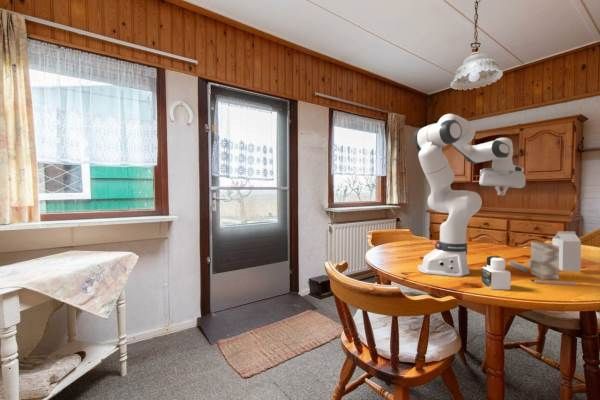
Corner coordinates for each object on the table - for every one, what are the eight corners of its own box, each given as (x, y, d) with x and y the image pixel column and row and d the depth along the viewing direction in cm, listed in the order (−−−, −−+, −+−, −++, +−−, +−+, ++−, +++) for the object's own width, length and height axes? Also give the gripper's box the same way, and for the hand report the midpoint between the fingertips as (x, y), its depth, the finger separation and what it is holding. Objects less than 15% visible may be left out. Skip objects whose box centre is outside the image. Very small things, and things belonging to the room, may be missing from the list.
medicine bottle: (481, 283, 114) (481, 254, 114) (500, 284, 113) (500, 255, 113) (490, 289, 107) (491, 259, 107) (510, 290, 106) (511, 259, 106)
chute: (536, 283, 114) (536, 276, 114) (503, 266, 140) (503, 260, 140) (576, 285, 111) (576, 278, 111) (535, 267, 137) (535, 261, 137)
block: (541, 278, 116) (542, 245, 116) (530, 273, 124) (531, 242, 124) (558, 279, 115) (559, 246, 115) (546, 273, 123) (546, 242, 122)
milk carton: (580, 273, 126) (581, 232, 126) (562, 273, 128) (563, 232, 127) (568, 269, 133) (569, 230, 133) (551, 268, 134) (552, 230, 134)
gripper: (482, 166, 143) (481, 192, 142) (527, 168, 139) (527, 195, 137) (477, 169, 149) (476, 194, 148) (520, 171, 145) (519, 197, 143)
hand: (501, 194), depth 143 cm, fingers closed
